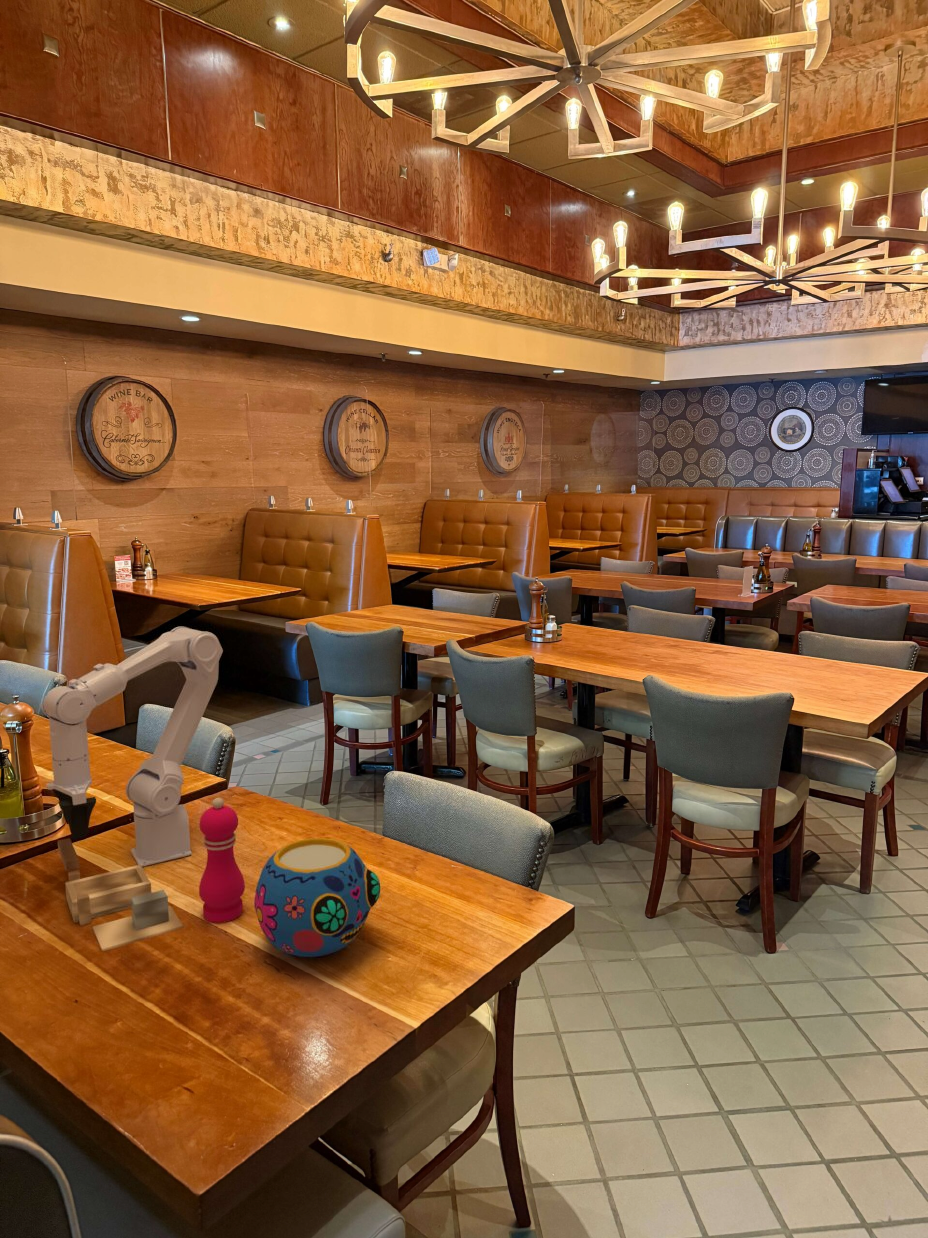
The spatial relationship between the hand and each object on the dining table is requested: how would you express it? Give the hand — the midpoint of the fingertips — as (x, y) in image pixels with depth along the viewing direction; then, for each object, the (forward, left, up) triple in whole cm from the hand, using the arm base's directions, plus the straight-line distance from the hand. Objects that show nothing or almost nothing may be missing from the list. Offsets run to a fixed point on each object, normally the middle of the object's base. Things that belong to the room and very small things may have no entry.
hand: (76, 830), depth 142 cm
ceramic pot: (-27, +41, -10) cm, 50 cm away
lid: (-5, +21, -10) cm, 24 cm away
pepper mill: (-18, +24, -10) cm, 32 cm away
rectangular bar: (+1, -1, -5) cm, 6 cm away
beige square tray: (-3, +10, -10) cm, 14 cm away
